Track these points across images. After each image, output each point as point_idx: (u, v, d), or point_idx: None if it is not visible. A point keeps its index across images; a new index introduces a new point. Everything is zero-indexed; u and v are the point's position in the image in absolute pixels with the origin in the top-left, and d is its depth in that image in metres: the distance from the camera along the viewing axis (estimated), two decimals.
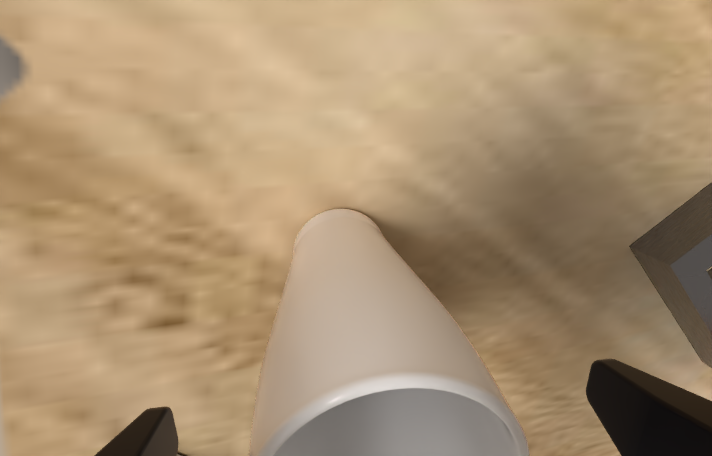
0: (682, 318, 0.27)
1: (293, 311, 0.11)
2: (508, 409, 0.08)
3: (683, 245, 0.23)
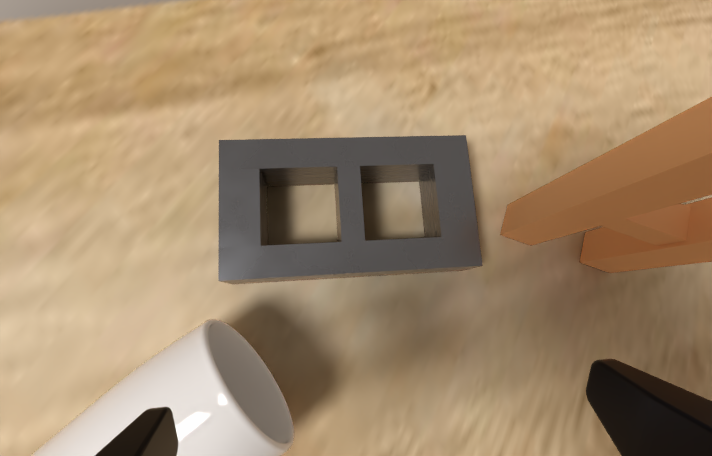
0: (358, 275, 0.21)
1: (112, 429, 0.14)
2: None
3: None
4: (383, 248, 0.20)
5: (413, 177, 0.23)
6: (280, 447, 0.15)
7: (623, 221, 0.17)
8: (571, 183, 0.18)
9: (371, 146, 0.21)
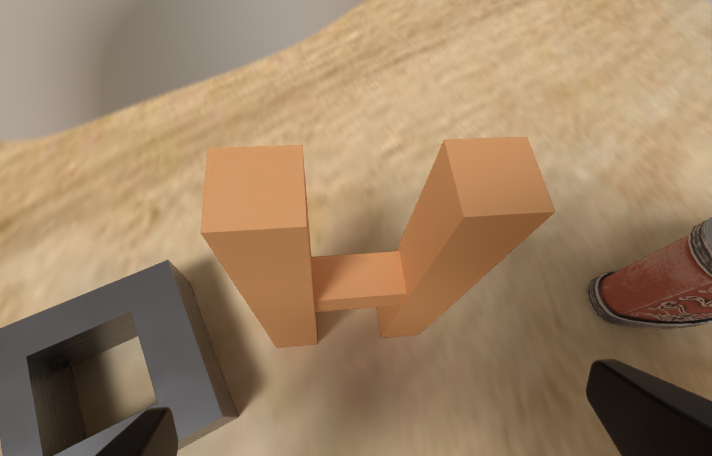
0: None
1: None
2: None
3: None
4: None
5: None
6: None
7: (327, 302, 0.13)
8: None
9: (41, 323, 0.16)
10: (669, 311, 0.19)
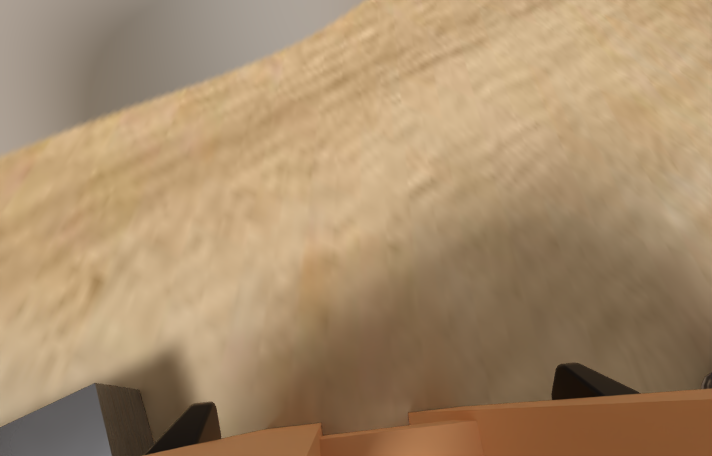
0: None
1: None
2: None
3: None
4: None
5: None
6: None
7: None
8: None
9: None
10: None
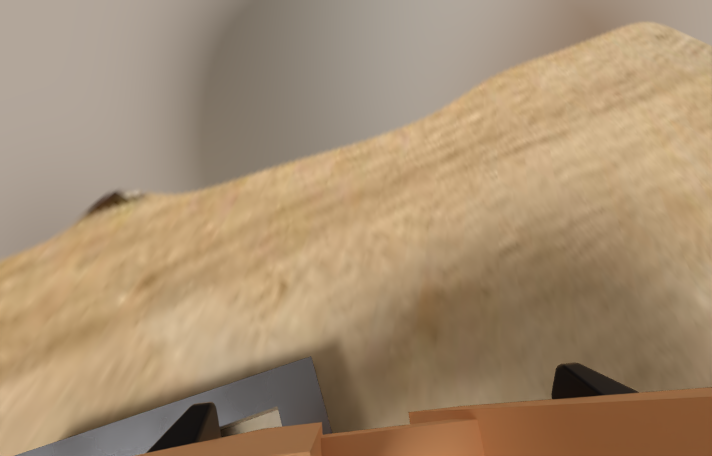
0: None
1: None
2: None
3: None
4: None
5: (272, 410, 0.19)
6: None
7: None
8: None
9: None
10: None
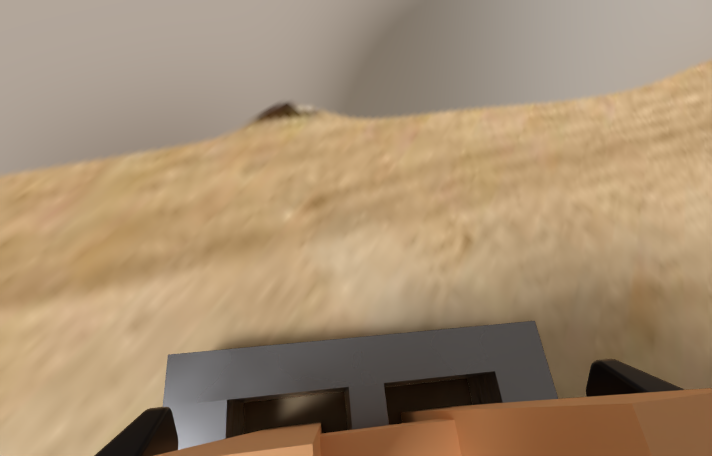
0: None
1: None
2: None
3: None
4: None
5: (460, 378, 0.16)
6: None
7: None
8: None
9: (399, 347, 0.14)
10: None
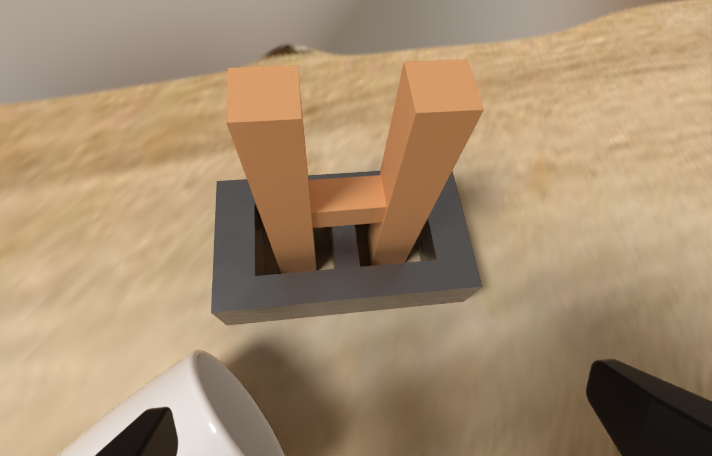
0: (356, 308, 0.21)
1: None
2: None
3: None
4: (379, 273, 0.19)
5: None
6: None
7: (322, 215, 0.16)
8: None
9: None
10: None
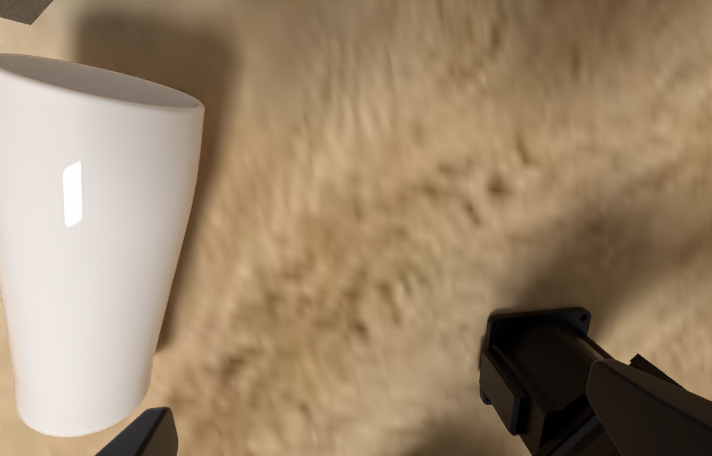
0: None
1: None
2: None
3: None
4: None
5: None
6: (170, 109, 0.13)
7: None
8: None
9: None
10: None
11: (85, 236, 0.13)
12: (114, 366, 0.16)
